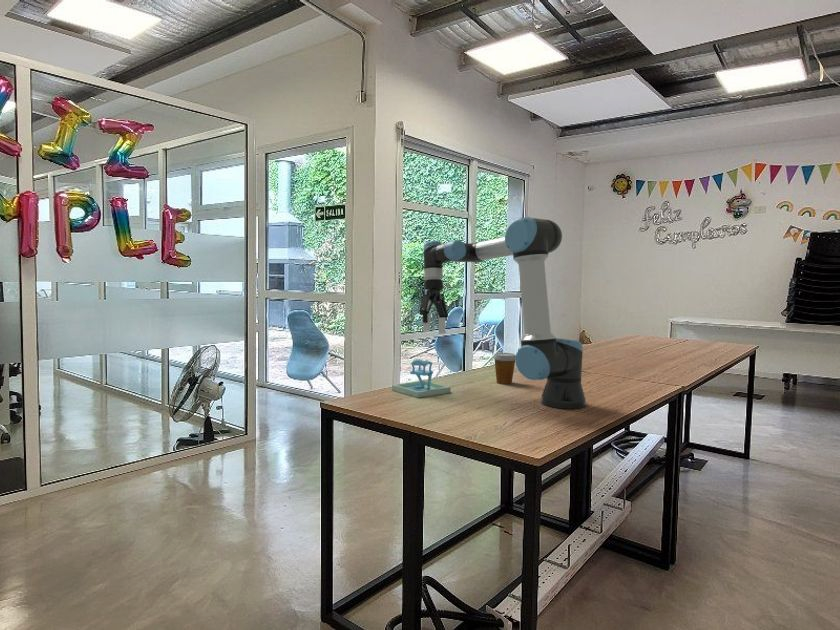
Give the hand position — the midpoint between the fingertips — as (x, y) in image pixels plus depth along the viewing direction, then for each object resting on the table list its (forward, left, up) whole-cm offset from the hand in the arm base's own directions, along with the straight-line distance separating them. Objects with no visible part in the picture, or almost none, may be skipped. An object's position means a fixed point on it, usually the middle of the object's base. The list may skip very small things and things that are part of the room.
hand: (434, 332), depth 221 cm
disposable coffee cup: (-29, +11, -22) cm, 38 cm away
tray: (+10, +5, -22) cm, 24 cm away
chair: (+10, +5, -21) cm, 24 cm away
